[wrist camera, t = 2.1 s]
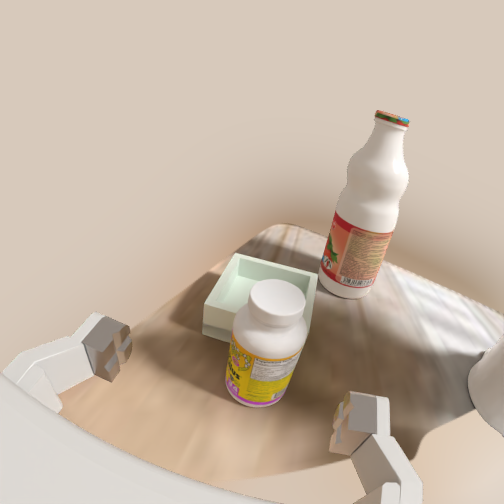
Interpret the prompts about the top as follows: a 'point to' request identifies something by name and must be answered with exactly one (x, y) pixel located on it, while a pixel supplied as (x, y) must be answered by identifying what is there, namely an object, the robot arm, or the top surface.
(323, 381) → the top surface
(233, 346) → the supplement bottle
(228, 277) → the sage tray
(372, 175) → the fruit juice
